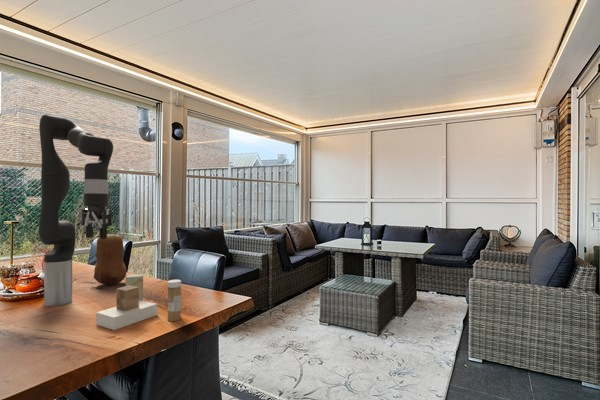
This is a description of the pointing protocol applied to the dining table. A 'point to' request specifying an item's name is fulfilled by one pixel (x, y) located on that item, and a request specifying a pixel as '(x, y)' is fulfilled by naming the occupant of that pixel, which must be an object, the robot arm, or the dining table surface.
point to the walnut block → (127, 298)
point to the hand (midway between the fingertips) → (96, 238)
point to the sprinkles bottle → (174, 300)
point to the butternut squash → (110, 260)
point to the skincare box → (136, 283)
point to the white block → (125, 315)
